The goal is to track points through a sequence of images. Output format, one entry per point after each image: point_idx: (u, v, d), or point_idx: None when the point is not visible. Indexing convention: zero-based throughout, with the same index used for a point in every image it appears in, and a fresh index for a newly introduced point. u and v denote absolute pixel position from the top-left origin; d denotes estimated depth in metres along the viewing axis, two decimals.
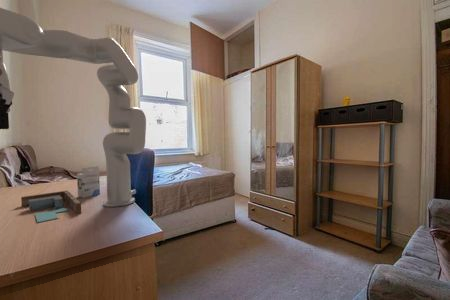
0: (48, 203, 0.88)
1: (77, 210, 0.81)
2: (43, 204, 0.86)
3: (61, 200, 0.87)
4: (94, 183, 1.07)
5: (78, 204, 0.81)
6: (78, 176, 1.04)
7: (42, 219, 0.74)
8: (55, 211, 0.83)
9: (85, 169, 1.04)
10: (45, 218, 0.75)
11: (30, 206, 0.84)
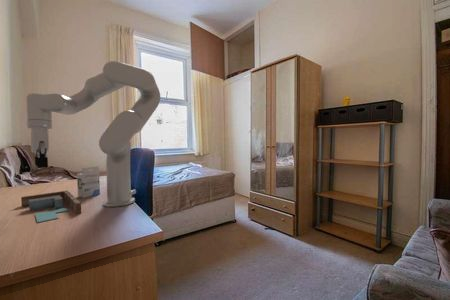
0: (48, 203, 0.88)
1: (77, 210, 0.81)
2: (43, 204, 0.86)
3: (61, 200, 0.87)
4: (94, 183, 1.07)
5: (78, 204, 0.81)
6: (78, 176, 1.04)
7: (42, 219, 0.74)
8: (55, 211, 0.83)
9: (85, 169, 1.04)
10: (45, 218, 0.75)
11: (30, 206, 0.84)
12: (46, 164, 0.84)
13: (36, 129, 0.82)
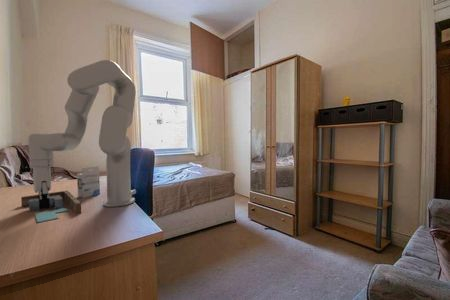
0: None
1: (77, 210, 0.81)
2: None
3: (61, 200, 0.87)
4: (94, 183, 1.07)
5: (78, 204, 0.81)
6: (78, 176, 1.04)
7: (42, 219, 0.74)
8: (55, 211, 0.83)
9: (85, 169, 1.04)
10: (45, 218, 0.75)
11: (30, 206, 0.84)
12: (48, 205, 0.87)
13: (38, 169, 0.83)
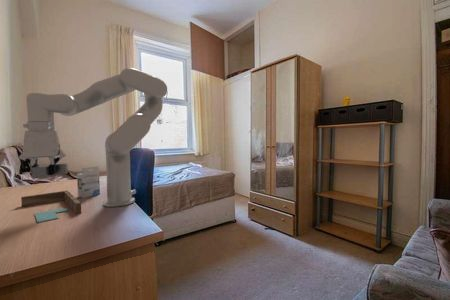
0: None
1: (77, 210, 0.81)
2: None
3: None
4: (94, 183, 1.07)
5: (78, 204, 0.81)
6: (78, 176, 1.04)
7: (42, 219, 0.74)
8: (55, 211, 0.83)
9: (85, 169, 1.04)
10: (45, 218, 0.75)
11: (46, 172, 0.78)
12: None
13: (55, 132, 0.80)
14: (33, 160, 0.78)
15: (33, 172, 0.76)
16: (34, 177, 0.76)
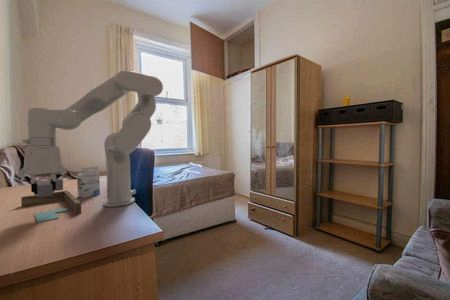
0: None
1: (77, 210, 0.81)
2: None
3: None
4: (94, 183, 1.07)
5: (78, 204, 0.81)
6: (78, 176, 1.04)
7: (42, 219, 0.74)
8: (55, 211, 0.83)
9: (85, 169, 1.04)
10: (45, 218, 0.75)
11: None
12: None
13: None
14: (34, 178, 0.74)
15: (38, 190, 0.73)
16: (39, 195, 0.73)
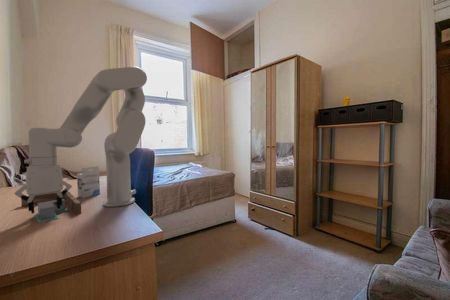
0: None
1: (77, 210, 0.81)
2: None
3: None
4: (94, 183, 1.07)
5: (78, 204, 0.81)
6: (78, 176, 1.04)
7: None
8: None
9: (85, 169, 1.04)
10: None
11: (54, 211, 0.76)
12: None
13: None
14: (32, 197, 0.74)
15: (41, 214, 0.73)
16: (42, 219, 0.74)
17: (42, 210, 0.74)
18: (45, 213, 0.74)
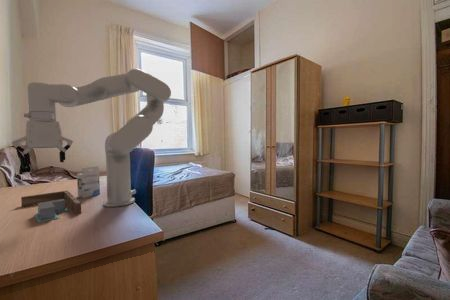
0: None
1: (77, 210, 0.81)
2: None
3: None
4: (94, 183, 1.07)
5: (78, 204, 0.81)
6: (78, 176, 1.04)
7: None
8: None
9: (85, 169, 1.04)
10: None
11: (54, 211, 0.76)
12: None
13: None
14: (29, 149, 0.75)
15: (41, 214, 0.73)
16: (42, 219, 0.74)
17: (42, 210, 0.74)
18: (45, 213, 0.74)
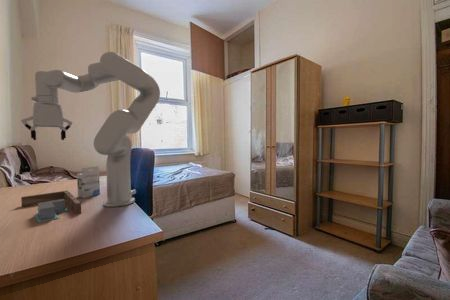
0: None
1: (77, 210, 0.81)
2: None
3: None
4: (94, 183, 1.07)
5: (78, 204, 0.81)
6: (78, 176, 1.04)
7: None
8: None
9: (85, 169, 1.04)
10: None
11: (54, 211, 0.76)
12: None
13: (60, 106, 0.95)
14: (35, 126, 0.89)
15: (41, 214, 0.73)
16: (42, 219, 0.74)
17: (42, 210, 0.74)
18: (45, 213, 0.74)
